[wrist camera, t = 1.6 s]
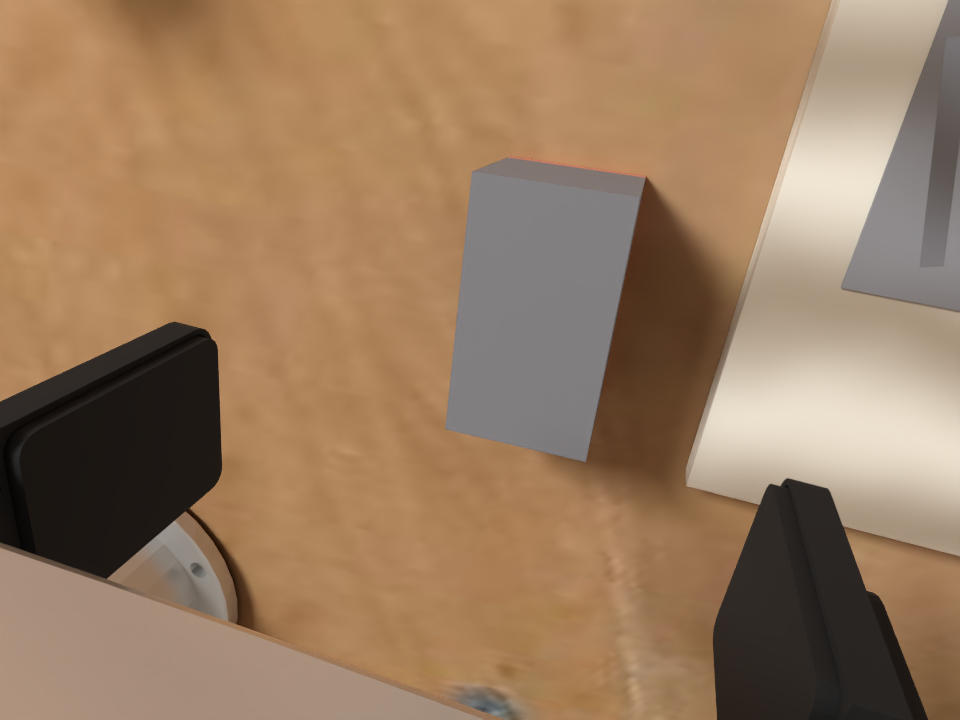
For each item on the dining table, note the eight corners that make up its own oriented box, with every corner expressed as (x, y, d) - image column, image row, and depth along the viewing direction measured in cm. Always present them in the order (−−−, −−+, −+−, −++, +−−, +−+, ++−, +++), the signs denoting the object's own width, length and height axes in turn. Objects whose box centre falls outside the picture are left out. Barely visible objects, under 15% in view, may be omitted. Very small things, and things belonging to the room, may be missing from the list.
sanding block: (601, 395, 25) (585, 462, 20) (484, 370, 25) (445, 429, 21) (646, 175, 21) (640, 197, 17) (511, 155, 22) (472, 171, 18)
